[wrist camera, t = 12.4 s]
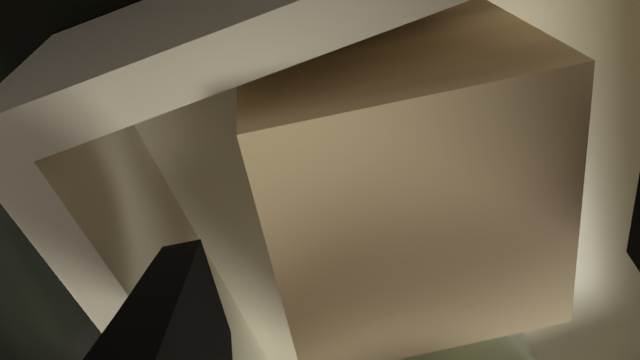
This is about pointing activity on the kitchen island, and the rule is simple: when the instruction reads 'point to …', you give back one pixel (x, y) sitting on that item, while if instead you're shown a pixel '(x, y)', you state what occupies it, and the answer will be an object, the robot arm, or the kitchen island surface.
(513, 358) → the sage cylinder
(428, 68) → the oak cube
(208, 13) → the box
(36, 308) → the kitchen island surface
